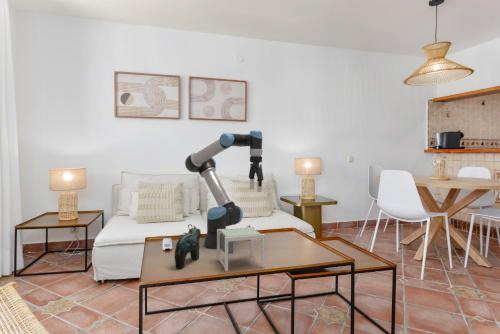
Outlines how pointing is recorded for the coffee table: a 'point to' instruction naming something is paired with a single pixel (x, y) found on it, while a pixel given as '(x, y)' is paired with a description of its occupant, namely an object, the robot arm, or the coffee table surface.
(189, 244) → the dark green animal figurine
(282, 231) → the coffee table surface
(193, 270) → the coffee table surface
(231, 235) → the grey l-shaped slab
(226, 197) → the robot arm
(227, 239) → the frame
